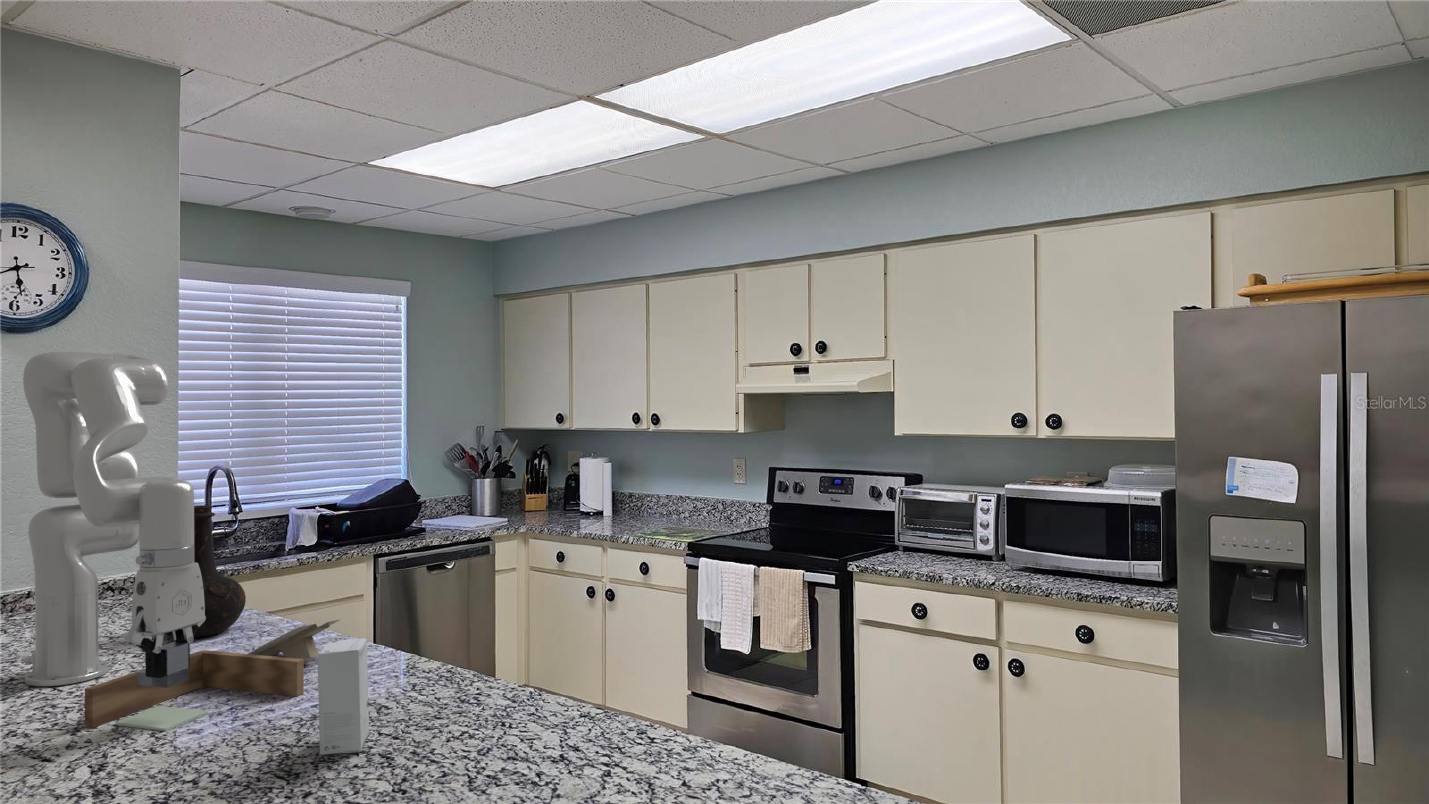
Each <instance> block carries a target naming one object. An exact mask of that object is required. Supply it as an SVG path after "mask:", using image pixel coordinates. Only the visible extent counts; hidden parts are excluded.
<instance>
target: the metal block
mask: <svg viewBox="0 0 1429 804" xmlns="http://www.w3.org/2000/svg"><path fill="white" fill-rule="evenodd" d="M160 652H164V654H165V675H164V677H162V678H152V677H146V671H145V670H143V669H142V670H143V671H140V670H139V671H140V672H137V671H136V672H137V685H142V686H153V687H164V688H168V687H171V686H174V685H177V684H180V683H183V682H185V681H188V680H189V676H188V643H179V642H175V641H172V642H169V643H166V644H162V648H161V651H160Z"/></svg>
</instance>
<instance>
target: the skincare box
mask: <svg viewBox="0 0 1429 804" xmlns="http://www.w3.org/2000/svg"><path fill="white" fill-rule="evenodd" d="M368 670H369V669H368V638H366V637H365V638H354V639H340V640H330V641H328V642H327V644H326V645H324V646H322V649H321V650H320V652H318V657H317V681H318V682H317V684H318V686H317V687H318V725H319V727H318V730H319V732H318V734H319V735H318V736H319V740H318V741H319V755H321V756H322V755H330V754H331V755H332V754H352V753H360V752H362V748H363V746H364V743H365V741H366V739H367V737H368V735H369V733H370V714H369V713H370V710H369V677H368V676H369V671H368Z"/></svg>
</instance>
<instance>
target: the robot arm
mask: <svg viewBox="0 0 1429 804" xmlns="http://www.w3.org/2000/svg"><path fill="white" fill-rule="evenodd" d="M23 369H24V370H23V375H22V376H23V378H22V379H23V381H22V382H23V384H22V385H23V391H24V395H25V399H26V401H27V404H28V407H29V410H30V412H31V414H32V417H33V420H34V425H35V439H36V440H35V441H36V442H35V444H36V447H35V448H36V449H35V450H36V472H37V474H36V475H37V483H38V484H37V485H38V488H39V489H40V492H41V493H42V495H44V496H46V497H49V498H53V499H71V498H72V499H73V498H77V499H78V502H79V503H78V504H69V505H60V506H59V505H58V506H53V507H48V508H45V509H43V510H40V511H39V512H37V513H36V514H35V515H34V516H33V517H32V518H31V519H30V520H29V523H28V540H29V544H30V549H31V555H32V559H33V567H34V569H33V570H34V594H35V595H34V596H35V597H34V599H35V600H34V603H35V604H34V606H35V607H34V609H35V611H34V612H35V613H34V616H35V617H34V618H35V619H34V620H35V622H34V624H35V625H34V626H35V627H34V630H35V634H34V635H35V636H34V637H35V638H34V640H35V642H34V643H35V644H34V646H35V650H34V651H33V652H32V653H31V655H27V656H25V658H24V659H23V661H24V664H28V665H32V666H31V667H32V669H31V671H30V672H28V673H26V675H25V676H24V683H25V684H26V685H28V686H33V687H55V686H56V687H58V686H64V685H65V686H67V685H72V684H78V683H81V682H85V681H86V682H87V681H90V680H93V679H96V678H99V677H101V676H103V675H105V674H107V673H108V671H109V663H107V662H105V661H102V660H100V659H99V655H100V654H99V652H100V651H99V578H98V576H97V573H96V572H95V570H94V569H92V567H90V566H89V564H88V563H86V561H84V559H83V557H85V556H92V555H99V554H105V553H114V552H120V551H127V550H130V549H132V548H133V547H135V546H136V545H137V544H138V542H139V545H138V546H139V555H138V556H136V557H135V563H136V565H139V569H138V570H136V575H135V579H134V582H133V589H132V590H133V591H132V600H131V626H130V628H129V630H128V632H127V633H126V636H125V640H126V641H128V642H130V643H132V644H135V645H136V646H137V647H138V648H139V649H140V651H141V652H142V653H144V655H145V662H144V663H145V666H144V667H145V668H144V669H145V671H146V677H152V678H162V677H164V675H165V654H164V652H160V651H161V648H162V645H163V642H164V635H165V634H168V632H172V631H173V642H179V643H188V669H189V668H190V654H191V653H190V651H191V650H190V649H191V648H190V646H191V644H192V643H193V642H194V638H193V636H194V634H195V633H196V631H197V630H198V627H200V625H201V624H202V623H203V622H204V621H205V620H206V616H205V603H204V590H203V582H202V576H201V572H200V568H199V565H198V563H195V562H194V506H195V490H194V486H193V484H192V483H191V482H189V481H186V480H182V479H181V480H177V479H175V478H173V477H167V476H151V477H141V472H140V463H139V462H138V458H137V456H136V454H135V453H134V452H133V451H132V450H131V449H132V447H134V446H136V445H138V444H139V443H141V442H142V441H143V440H144V439H145V437H146V436H147V435H148V432H149V424H148V421H147V419H146V416H145V414H144V411H143V408H142V406H157V405H160V404H162V403H163V402H164V401H165V400H166V398H167V397H168V394H169V387H170V386H169V385H170V384H169V378H168V375H167V373H166V371H165V369H164V367H163V366H162V365H161V364H160V363H158V362H157V361H156V360H154V359H150V358H147V357H141V356H136V355H134V354H133V355H132V354H121V353H119V354H118V353H101V352H100V353H99V352H98V353H96V352H95V353H93V352H92V353H91V352H81V351H80V352H75V351H53V352H43V353H39V354H36V355H34V356H32V357H31V358H30V359H29V360H28V361H27V362H26V364H25V366H24V368H23ZM75 399H76V401H75ZM181 629H183V630H182V631H181ZM152 639H153V640H152Z"/></svg>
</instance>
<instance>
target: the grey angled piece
mask: <svg viewBox="0 0 1429 804" xmlns="http://www.w3.org/2000/svg"><path fill="white" fill-rule="evenodd" d="M341 620H342V619H336V620H331V621H326V622H325V623H323V624H321V625H319V626H318V625H317V624H316V623H314V624H307V625H302V626H298V627H296V628H294V629H292V630H290V631H287V632H286V633H284V634H282V635H280V636H278V637H276V638H274V639H272V640H270V641H269V642H266V643H264V644H263V645H261V646H259V647H257V648H255V649H254V650H252V651H250V652H248V653H247V654H253V655H264V656H274V657H276V655H277V656H278V655H279V654H280V653H281V654H283V656H284V657H285V658H296V659H304V665H305V664H307V663H309V662H311V661H312V660H315V659H316V658H318V654H319V652H318V650H317V646H316V644H315V641H314V636H315V635H317V634H319V633H321V632H323V631H325V630H327V629H329V628H330V626H331V625H334V624H336V623H337V622H340V621H341Z"/></svg>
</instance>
